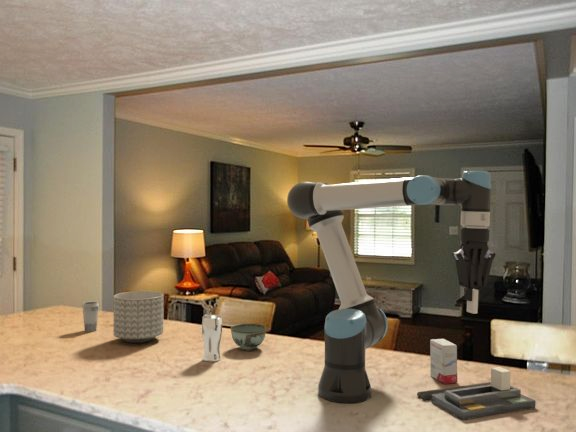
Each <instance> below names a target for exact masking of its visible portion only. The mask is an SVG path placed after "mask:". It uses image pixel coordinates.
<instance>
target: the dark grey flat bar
mask: <svg viewBox="0 0 576 432" xmlns="http://www.w3.org/2000/svg"><path fill="white" fill-rule="evenodd" d="M490 384H491V381H488V382H487V381H486V382H480V383H473V384H466V385H459V386H451V387H445V388H437V389H431V390H421V391H418V392H416V396H417V397H418V398H421V399H422V401H423V400H424V401H427V400H431V395H432V394H439V393H445V391H447V390H454V389H461V388H468V387H475V386H483V385H490Z"/></svg>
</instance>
